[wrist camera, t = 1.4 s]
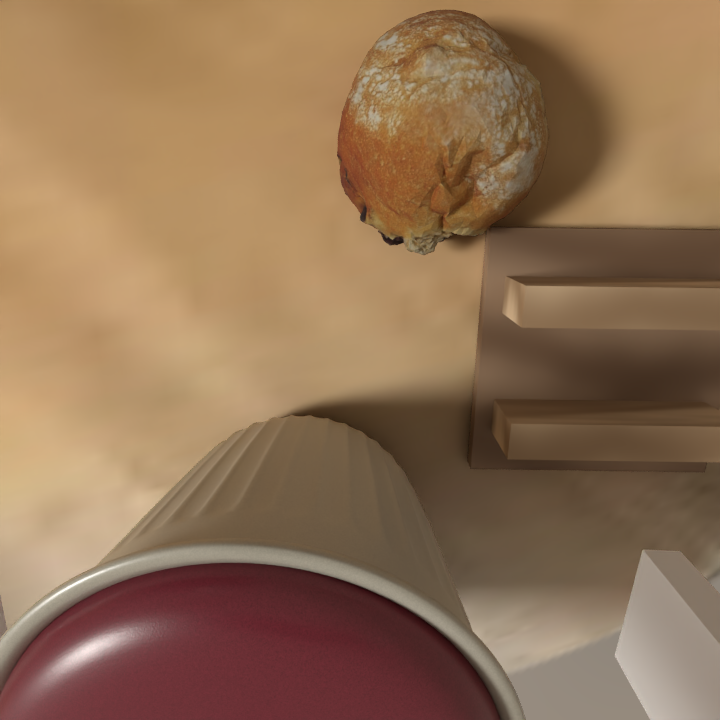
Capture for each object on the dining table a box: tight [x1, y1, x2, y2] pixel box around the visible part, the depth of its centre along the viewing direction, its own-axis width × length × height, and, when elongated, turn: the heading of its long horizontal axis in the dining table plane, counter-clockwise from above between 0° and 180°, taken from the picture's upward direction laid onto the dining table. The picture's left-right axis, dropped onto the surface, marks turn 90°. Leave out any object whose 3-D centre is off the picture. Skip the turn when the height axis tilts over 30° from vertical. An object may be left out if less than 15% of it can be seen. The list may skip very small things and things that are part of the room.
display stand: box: [467, 227, 720, 472], centre depth 27 cm, size 14×14×4 cm
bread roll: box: [337, 10, 549, 255], centre depth 24 cm, size 10×10×8 cm
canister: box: [0, 415, 526, 720], centre depth 22 cm, size 18×18×21 cm
